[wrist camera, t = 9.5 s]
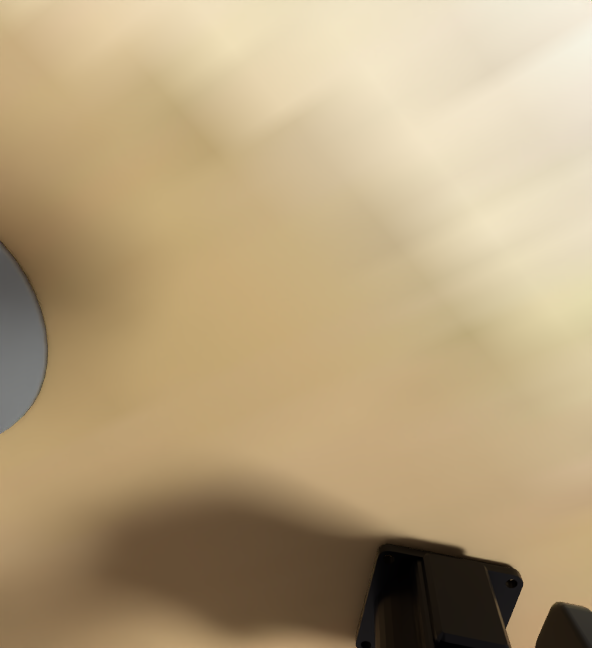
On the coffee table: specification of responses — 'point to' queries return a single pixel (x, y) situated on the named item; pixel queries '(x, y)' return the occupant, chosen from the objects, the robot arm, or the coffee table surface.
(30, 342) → the felt mat
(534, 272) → the coffee table surface
